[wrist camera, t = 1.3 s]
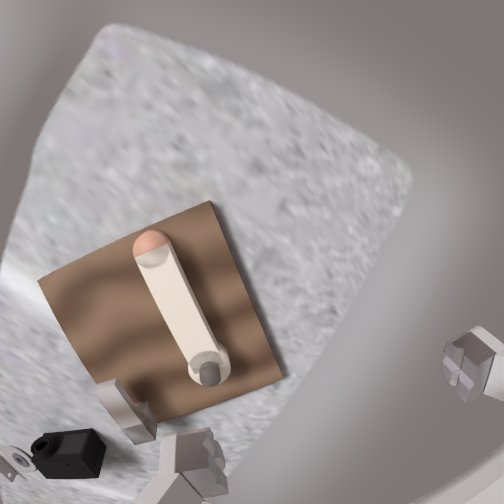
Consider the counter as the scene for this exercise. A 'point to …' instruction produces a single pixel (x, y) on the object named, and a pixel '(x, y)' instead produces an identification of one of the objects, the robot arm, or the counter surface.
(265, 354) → the pivot base
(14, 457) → the bracket
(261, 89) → the counter surface
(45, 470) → the digital camera
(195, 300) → the link
